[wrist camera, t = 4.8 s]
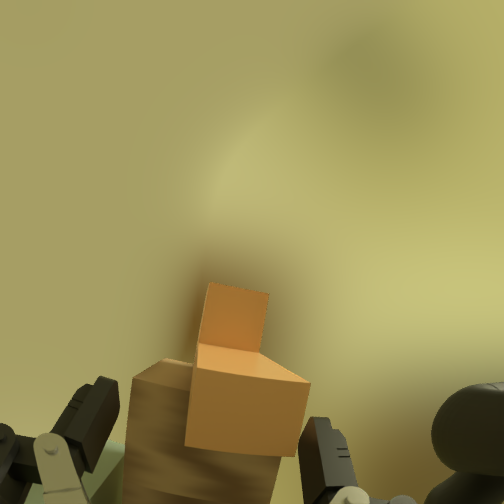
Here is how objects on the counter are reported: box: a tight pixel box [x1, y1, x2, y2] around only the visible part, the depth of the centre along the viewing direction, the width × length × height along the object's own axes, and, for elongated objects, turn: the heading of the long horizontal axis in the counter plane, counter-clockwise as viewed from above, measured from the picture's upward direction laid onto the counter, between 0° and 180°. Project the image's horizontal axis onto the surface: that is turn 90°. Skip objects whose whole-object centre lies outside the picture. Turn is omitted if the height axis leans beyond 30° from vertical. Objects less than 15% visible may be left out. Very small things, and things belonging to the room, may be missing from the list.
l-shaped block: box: [184, 282, 311, 457], centre depth 19 cm, size 4×18×7 cm, turn 9°
